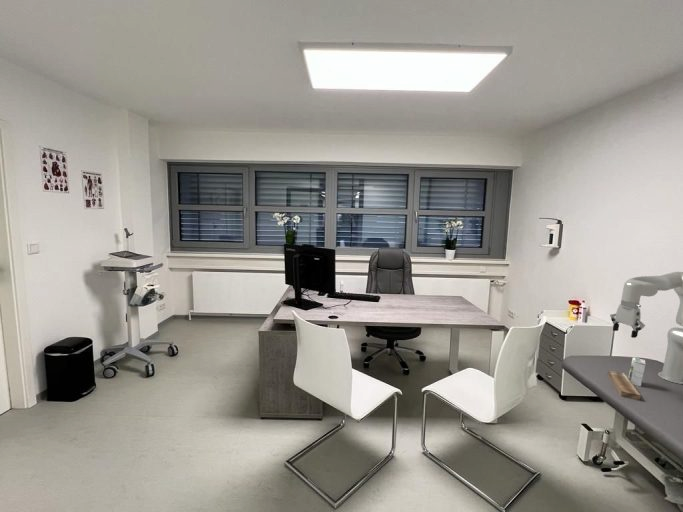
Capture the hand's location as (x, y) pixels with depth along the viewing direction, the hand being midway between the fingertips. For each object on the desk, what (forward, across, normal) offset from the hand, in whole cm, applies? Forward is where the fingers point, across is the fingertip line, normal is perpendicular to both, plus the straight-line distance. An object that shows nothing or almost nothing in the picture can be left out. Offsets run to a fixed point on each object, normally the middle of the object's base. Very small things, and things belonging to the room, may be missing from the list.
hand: (624, 333), depth 186 cm
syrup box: (+31, 0, -15) cm, 35 cm away
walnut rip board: (+31, -2, -4) cm, 31 cm away
